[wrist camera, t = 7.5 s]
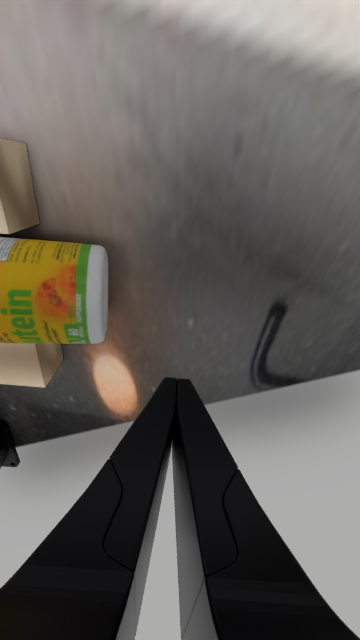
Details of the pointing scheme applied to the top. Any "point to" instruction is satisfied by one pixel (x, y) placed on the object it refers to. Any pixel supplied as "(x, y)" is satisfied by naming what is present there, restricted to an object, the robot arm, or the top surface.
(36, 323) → the supplement bottle
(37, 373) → the beige c-shaped block
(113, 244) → the top surface
